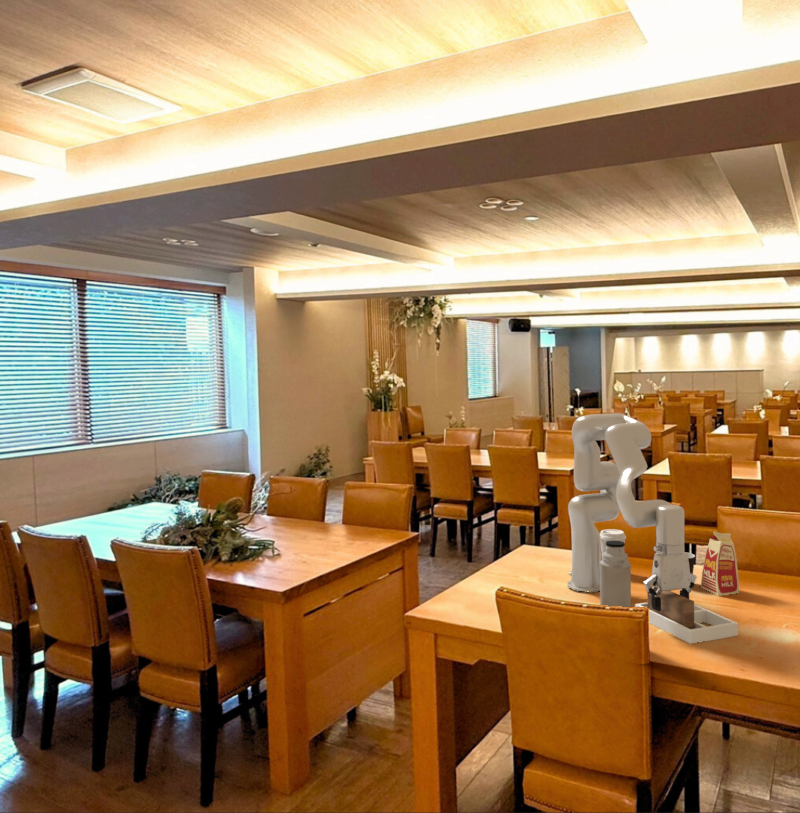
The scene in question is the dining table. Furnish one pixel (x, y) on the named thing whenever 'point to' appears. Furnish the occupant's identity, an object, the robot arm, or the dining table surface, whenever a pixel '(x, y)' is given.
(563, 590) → the dining table surface
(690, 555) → the coffee mug
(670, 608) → the brown wooden block
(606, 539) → the coffee cup
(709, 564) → the milk carton
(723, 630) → the white compartment tray
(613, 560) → the thermos bottle
